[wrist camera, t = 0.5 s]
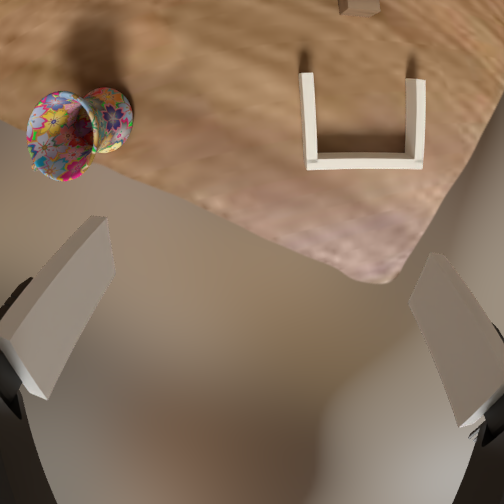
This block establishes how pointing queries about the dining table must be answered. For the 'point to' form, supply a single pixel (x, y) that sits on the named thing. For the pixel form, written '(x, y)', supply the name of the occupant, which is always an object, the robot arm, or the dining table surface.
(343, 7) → the t block
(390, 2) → the dining table surface
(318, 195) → the dining table surface
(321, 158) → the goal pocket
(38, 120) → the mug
